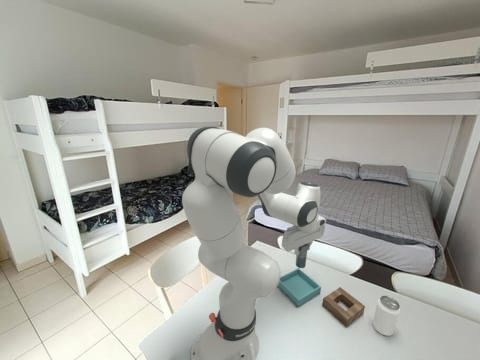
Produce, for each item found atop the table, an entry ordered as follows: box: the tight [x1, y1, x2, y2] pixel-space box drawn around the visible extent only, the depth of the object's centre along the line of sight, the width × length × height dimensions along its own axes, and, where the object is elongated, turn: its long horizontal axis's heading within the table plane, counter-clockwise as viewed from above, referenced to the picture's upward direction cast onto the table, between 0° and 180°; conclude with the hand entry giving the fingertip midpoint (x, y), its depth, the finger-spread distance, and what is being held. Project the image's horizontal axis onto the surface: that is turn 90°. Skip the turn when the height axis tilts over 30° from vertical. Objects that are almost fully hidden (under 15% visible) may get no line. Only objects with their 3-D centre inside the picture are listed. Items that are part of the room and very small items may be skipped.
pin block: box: [321, 286, 366, 328], centre depth 84 cm, size 11×11×4 cm
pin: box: [295, 244, 308, 269], centre depth 88 cm, size 4×4×10 cm
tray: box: [277, 267, 322, 309], centre depth 93 cm, size 13×13×4 cm
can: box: [371, 295, 401, 337], centre depth 76 cm, size 6×6×12 cm
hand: (302, 251), depth 87 cm, fingers closed on pin, 4 cm apart
